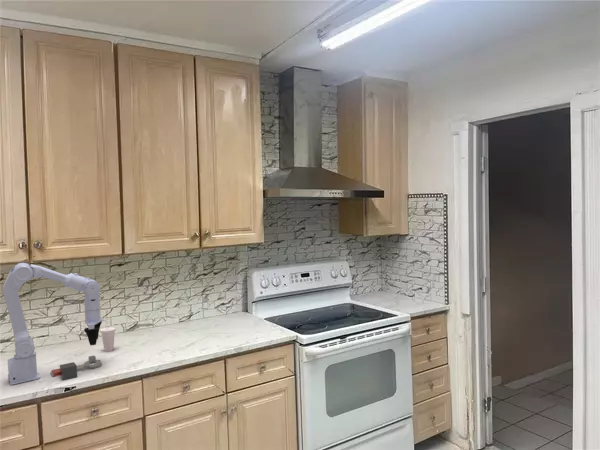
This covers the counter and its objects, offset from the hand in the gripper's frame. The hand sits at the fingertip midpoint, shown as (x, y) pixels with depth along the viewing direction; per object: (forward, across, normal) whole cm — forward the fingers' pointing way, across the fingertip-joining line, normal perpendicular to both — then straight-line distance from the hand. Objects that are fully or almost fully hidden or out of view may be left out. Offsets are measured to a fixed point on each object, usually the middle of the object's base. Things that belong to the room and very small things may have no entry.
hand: (94, 342), depth 189 cm
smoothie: (+10, +18, -4) cm, 21 cm away
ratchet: (+10, -3, +6) cm, 12 cm away
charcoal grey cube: (+10, -10, +8) cm, 16 cm away
